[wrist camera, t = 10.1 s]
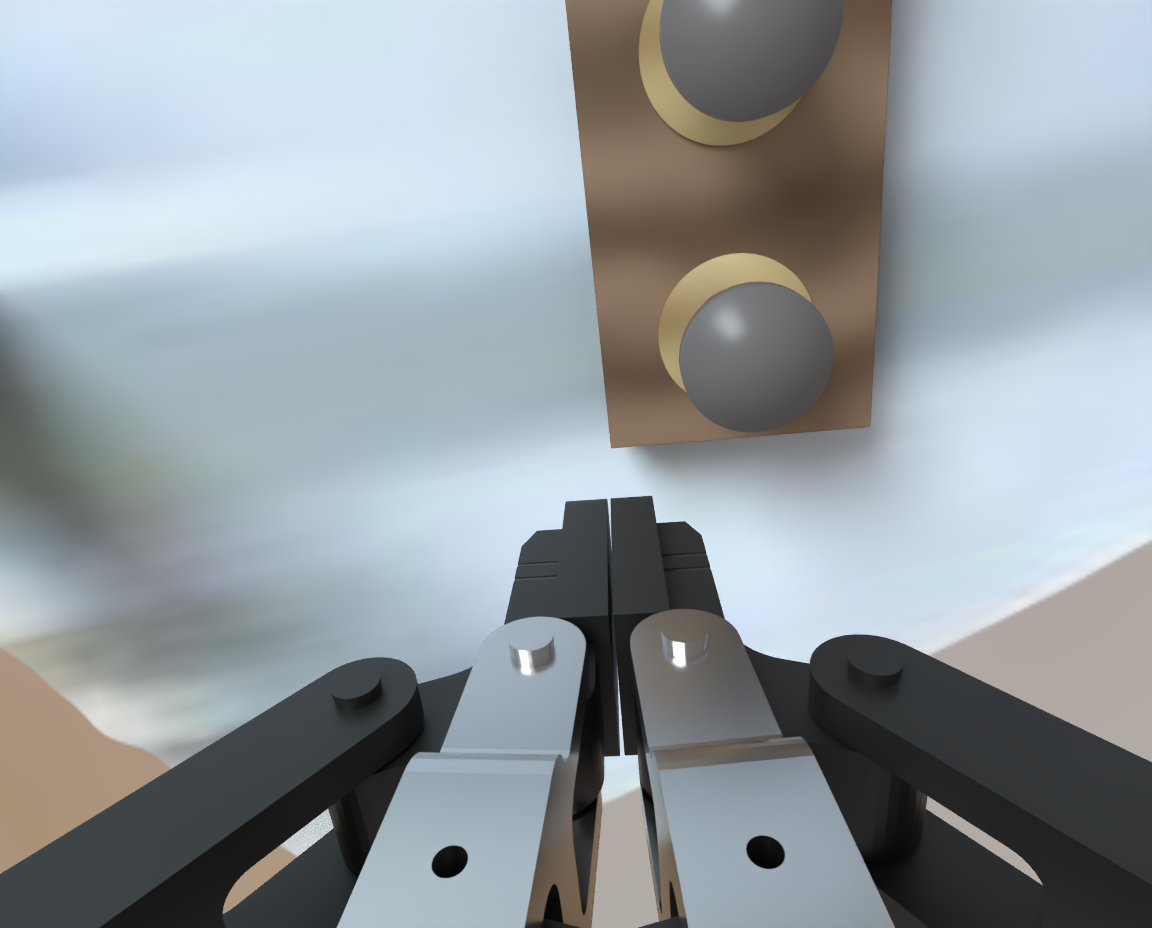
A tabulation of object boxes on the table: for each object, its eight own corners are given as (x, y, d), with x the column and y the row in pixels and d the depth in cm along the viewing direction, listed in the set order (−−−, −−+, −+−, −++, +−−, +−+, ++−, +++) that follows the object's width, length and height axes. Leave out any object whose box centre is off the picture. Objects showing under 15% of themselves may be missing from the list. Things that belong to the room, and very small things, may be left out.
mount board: (844, 400, 36) (871, 428, 32) (612, 420, 37) (611, 449, 33) (876, -500, 23) (926, -633, 20) (528, -424, 25) (510, -535, 21)
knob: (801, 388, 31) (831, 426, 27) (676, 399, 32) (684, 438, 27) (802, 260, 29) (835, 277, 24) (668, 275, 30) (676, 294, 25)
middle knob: (803, 118, 27) (840, 108, 22) (659, 137, 28) (666, 130, 23) (805, -55, 25) (846, -106, 20) (649, -30, 25) (654, -75, 21)
